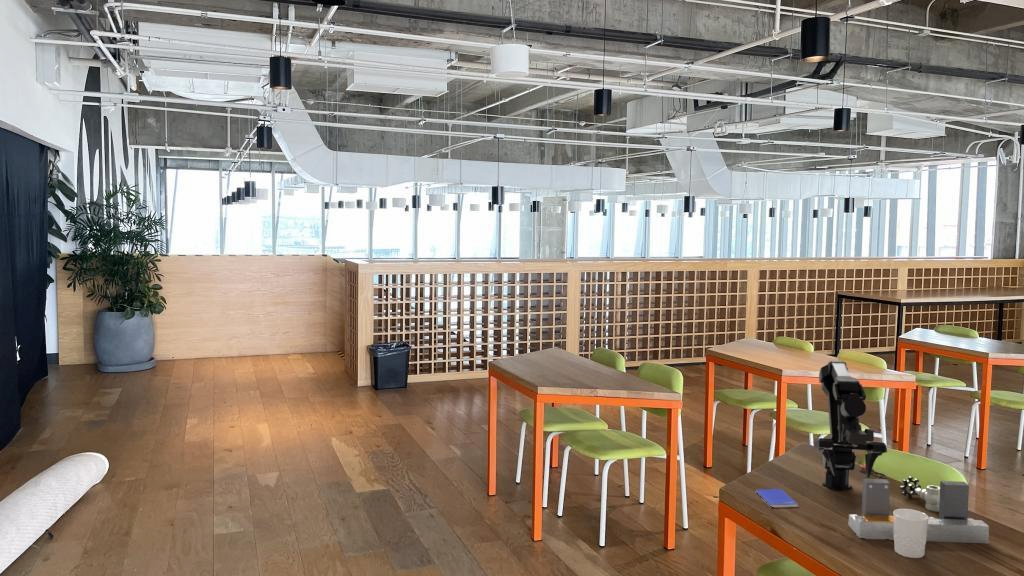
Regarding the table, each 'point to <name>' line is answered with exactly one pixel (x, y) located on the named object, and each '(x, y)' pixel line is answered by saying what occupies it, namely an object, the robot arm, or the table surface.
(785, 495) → the hard drive
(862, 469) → the composite cable
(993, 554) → the table surface
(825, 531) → the table surface
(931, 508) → the valve
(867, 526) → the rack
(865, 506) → the grey rectangular block
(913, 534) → the white cup
